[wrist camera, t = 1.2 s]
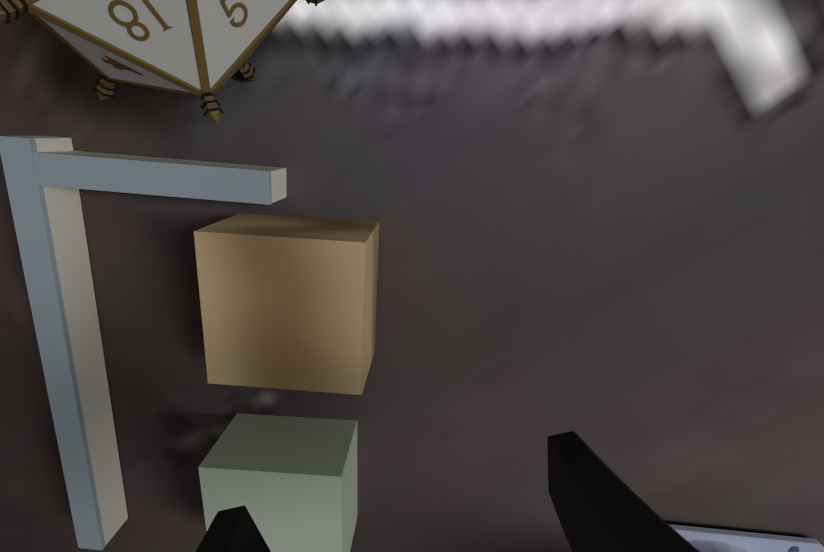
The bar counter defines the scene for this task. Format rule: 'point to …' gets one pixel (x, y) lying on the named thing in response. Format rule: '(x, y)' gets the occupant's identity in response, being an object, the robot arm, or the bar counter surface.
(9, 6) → the game die
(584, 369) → the bar counter surface
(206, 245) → the oak block
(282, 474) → the sage block
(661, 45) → the bar counter surface
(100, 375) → the bar
